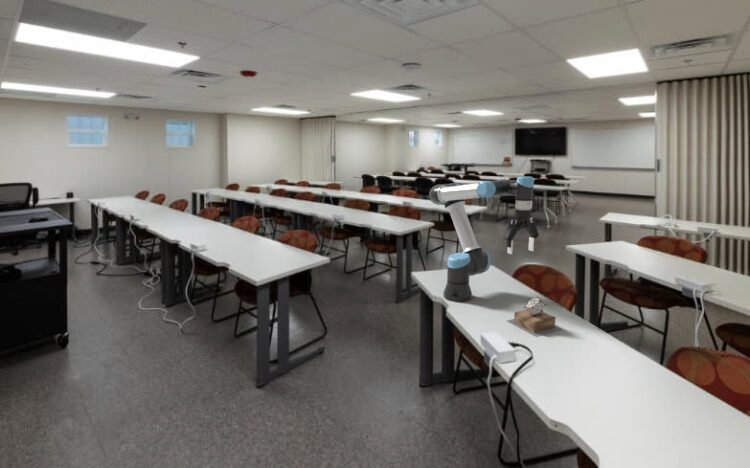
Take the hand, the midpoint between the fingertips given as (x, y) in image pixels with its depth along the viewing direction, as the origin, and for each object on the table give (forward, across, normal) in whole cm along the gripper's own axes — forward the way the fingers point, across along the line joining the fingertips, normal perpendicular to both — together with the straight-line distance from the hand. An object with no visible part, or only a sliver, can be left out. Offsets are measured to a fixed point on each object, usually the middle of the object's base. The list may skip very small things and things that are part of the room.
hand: (520, 252), depth 192 cm
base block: (+28, -9, -20) cm, 36 cm away
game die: (+24, -9, -20) cm, 32 cm away
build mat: (+29, -9, -20) cm, 36 cm away
